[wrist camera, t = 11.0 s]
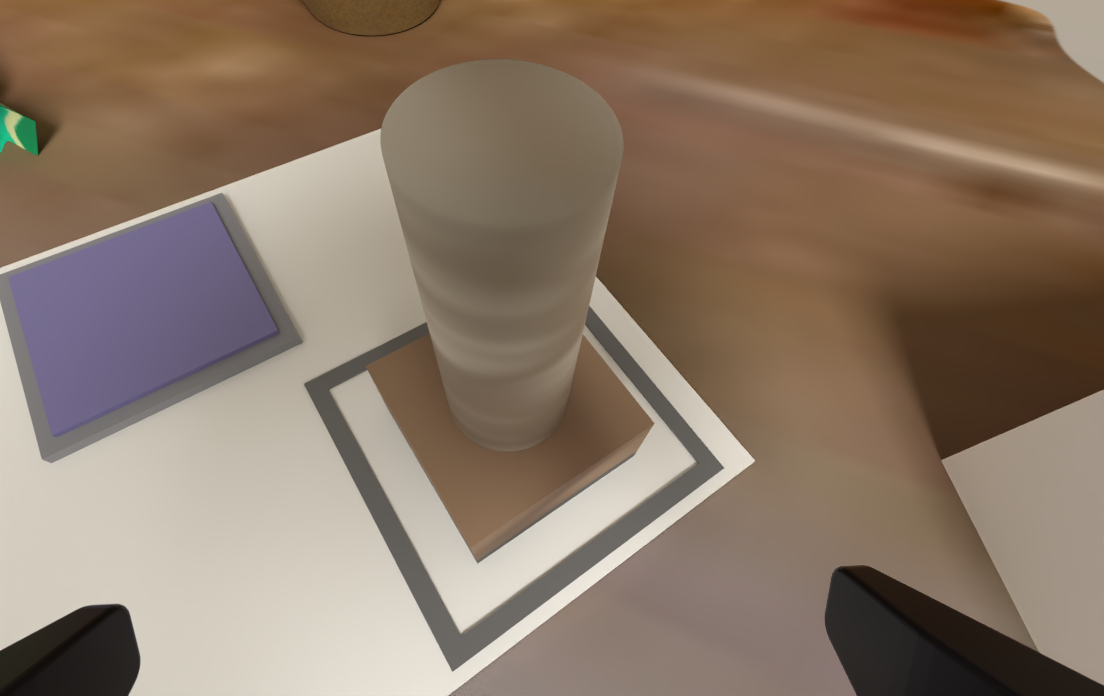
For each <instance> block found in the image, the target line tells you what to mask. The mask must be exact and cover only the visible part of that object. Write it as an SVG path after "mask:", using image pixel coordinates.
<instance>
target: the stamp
mask: <svg viewBox="0 0 1104 696" xmlns="http://www.w3.org/2000/svg"><path fill="white" fill-rule="evenodd" d="M380 145H381V151H382V156H383V160H384V164H385V167H386V171H387V175H388V179H389V182H390V186H391V190H392V194H393V197H394V201H395V205H396V209H397V212H398V216H399V220H400V224H401V228H402V231H403V235H404V239H405V243H406V246H407V250H408V254H409V258H410V261H411V265H412V269H413V273H414V276H415V280H416V284H417V288H418V291H419V295H420V299H421V303H422V306H423V310H424V314H425V318H426V322H427V325H428V329H429V334H427V335H425V336H423V337H421V338H419V339H417V340H415V341H413V342H411V343H409V344H407V345H405V346H404V347H402V348H400V349H398V350H396V351H394V352H392V353H390V354H388V355H386V356H384V357H382V358H380V359H378V360H376V361H374V362H372V363H370V364H368V365H367V366H365V367H366V368H367V370H368V372H369V374H370V376H371V378H372V380H373V382H374V384H375V386H376V387H377V389H378V391H379V393H380V395H381V397H382V399H383V401H384V403H385V405H386V406H387V408H388V410H389V412H390V413H391V415H392V417H393V419H394V420H395V422H396V424H397V425H398V427H399V429H400V431H401V432H402V434H403V436H404V438H405V439H406V441H407V443H408V444H409V446H410V448H411V450H412V451H413V453H414V455H415V457H416V458H417V460H418V462H419V463H420V465H421V467H422V469H423V470H424V472H425V474H426V476H427V477H428V479H429V481H430V482H431V484H432V486H433V488H434V489H435V491H436V493H437V495H438V496H439V498H440V500H441V501H442V503H443V505H444V507H445V508H446V510H447V512H448V514H449V515H450V517H451V519H452V520H453V522H454V524H455V526H456V527H457V529H458V531H459V533H460V534H461V536H462V538H463V539H464V541H465V543H466V545H467V546H468V548H469V550H470V552H471V553H472V555H473V557H474V558H475V560H476V562H477V564H478V563H479V562H481V561H482V560H484V559H485V558H487V557H488V556H489V555H491V554H492V553H494V552H495V551H497V550H498V549H500V548H501V547H503V546H504V545H505V544H507V543H508V542H510V541H511V540H513V539H514V538H516V537H517V536H518V535H520V534H521V533H523V532H524V531H526V530H527V529H529V528H530V527H532V526H533V525H534V524H536V523H537V522H539V521H540V520H542V519H543V518H545V517H546V516H548V515H549V514H550V513H552V512H553V511H555V510H556V509H558V508H559V507H561V506H562V505H564V504H565V503H566V502H568V501H569V500H571V499H572V498H574V497H575V496H577V495H578V494H580V493H581V492H582V491H584V490H585V489H587V488H588V487H590V486H591V485H593V484H594V483H595V482H597V481H598V480H600V479H601V478H603V477H604V476H606V475H607V474H609V473H610V472H611V471H613V470H614V469H616V468H617V467H619V466H620V465H622V464H623V463H625V462H626V461H627V460H629V459H630V458H632V457H633V456H634V455H635V454H636V452H637V450H638V449H639V447H640V446H641V444H642V442H643V441H644V439H645V438H646V436H647V435H648V433H649V431H650V430H651V428H652V427H653V425H654V424H655V423H654V422H653V421H652V419H651V418H650V417H649V416H648V414H647V413H646V412H645V411H644V410H643V408H642V407H641V406H640V405H639V403H638V402H637V401H636V400H635V398H634V397H633V396H632V395H631V393H630V392H629V391H628V390H627V388H626V387H625V386H624V385H623V383H622V382H621V381H620V380H619V378H618V377H617V376H616V375H615V373H614V372H613V371H612V370H611V368H610V367H609V366H608V365H607V363H606V362H605V361H604V360H603V358H602V357H601V356H600V355H599V353H598V352H597V351H596V350H595V349H594V347H593V346H592V345H591V344H590V342H589V341H588V340H587V339H586V337H585V336H584V335H583V331H584V326H585V322H586V317H587V313H588V308H589V304H590V299H591V295H592V290H593V286H594V281H595V277H596V272H597V268H598V263H599V259H600V254H601V250H602V245H603V241H604V236H605V232H606V228H607V223H608V219H609V214H610V210H611V205H612V201H613V196H614V192H615V187H616V183H617V178H618V174H619V169H620V165H621V160H622V156H623V145H624V144H623V134H622V130H621V127H620V124H619V121H618V119H617V117H616V115H615V113H614V112H613V110H612V109H611V107H610V106H609V105H608V103H607V102H606V101H605V100H604V99H603V98H602V97H601V96H600V95H599V94H598V93H597V92H596V91H594V90H593V89H592V88H591V87H589V86H588V85H586V84H585V83H583V82H582V81H580V80H579V79H577V78H575V77H573V76H571V75H569V74H567V73H565V72H562V71H560V70H557V69H555V68H551V67H548V66H545V65H541V64H537V63H532V62H527V61H520V60H509V59H485V60H476V61H469V62H464V63H459V64H455V65H452V66H448V67H445V68H442V69H440V70H437V71H435V72H432V73H430V74H428V75H426V76H425V77H423V78H421V79H419V80H418V81H416V82H415V83H413V84H412V85H410V86H409V87H408V88H407V89H406V90H404V91H403V92H402V93H401V94H400V95H399V96H398V97H397V99H396V100H395V101H394V102H393V103H392V105H391V107H390V108H389V110H388V111H387V113H386V116H385V118H384V121H383V124H382V128H381V133H380Z"/></svg>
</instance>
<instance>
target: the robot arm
mask: <svg viewBox="0 0 1104 696" xmlns="http://www.w3.org/2000/svg"><path fill="white" fill-rule="evenodd" d="M825 626H826V631H827V634H828V636H829V639H830V641H831V643H832V645H833V647H834V649H835V651H836V653H837V655H838V658H839V660H840V662H841V664H842V666H843V668H844V670H845V672H846V674H847V676H848V678H849V680H850V682H851V684H852V686H853V689H854V691H855V693H856V695H857V696H1104V685H1102V684H1100V683H1098V682H1096V681H1094V680H1092V679H1090V678H1088V677H1086V676H1084V675H1082V674H1080V673H1078V672H1077V671H1075V670H1073V669H1071V668H1069V667H1067V666H1065V665H1063V664H1061V663H1059V662H1057V661H1055V660H1053V659H1051V658H1049V657H1047V656H1045V655H1043V654H1041V653H1039V652H1037V651H1035V650H1033V649H1031V648H1029V647H1027V646H1025V645H1023V644H1021V643H1019V642H1017V641H1015V640H1013V639H1011V638H1010V637H1008V636H1006V635H1004V634H1002V633H1000V632H998V631H996V630H994V629H992V628H990V627H988V626H986V625H984V624H982V623H980V622H978V621H976V620H974V619H972V618H970V617H968V616H966V615H964V614H962V613H960V612H958V611H956V610H954V609H952V608H950V607H948V606H946V605H945V604H943V603H941V602H939V601H937V600H935V599H933V598H931V597H929V596H927V595H925V594H923V593H921V592H919V591H917V590H915V589H913V588H911V587H909V586H907V585H905V584H903V583H901V582H899V581H897V580H895V579H893V578H891V577H889V576H887V575H885V574H883V573H881V572H880V571H878V570H876V569H874V568H871V567H869V566H865V565H857V566H841V567H838V568H836V569H835V570H834V572H833V573H832V577H831V583H830V588H829V594H828V600H827V605H826V611H825ZM140 662H141V657H140V652H139V648H138V644H137V640H136V636H135V632H134V628H133V624H132V620H131V616H130V612H129V610H128V609H127V608H126V607H125V606H124V605H121V604H99V605H88V606H84V607H81V608H79V609H77V610H75V611H73V612H71V613H69V614H67V615H66V616H64V617H62V618H60V619H58V620H56V621H54V622H52V623H51V624H49V625H47V626H45V627H43V628H41V629H39V630H38V631H36V632H34V633H32V634H30V635H28V636H26V637H24V638H23V639H21V640H19V641H17V642H15V643H13V644H11V645H9V646H8V647H6V648H4V649H2V650H0V696H129V694H130V692H131V690H132V688H133V686H134V684H135V682H136V679H137V677H138V674H139V670H140Z"/></svg>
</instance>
